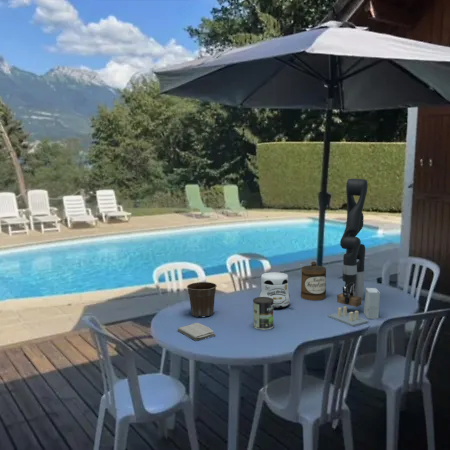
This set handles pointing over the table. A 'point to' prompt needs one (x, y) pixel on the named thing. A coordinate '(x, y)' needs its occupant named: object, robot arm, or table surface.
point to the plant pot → (202, 298)
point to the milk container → (275, 288)
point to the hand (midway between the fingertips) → (349, 301)
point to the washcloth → (196, 331)
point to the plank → (352, 300)
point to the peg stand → (348, 317)
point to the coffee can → (263, 313)
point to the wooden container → (313, 282)
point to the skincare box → (372, 303)
